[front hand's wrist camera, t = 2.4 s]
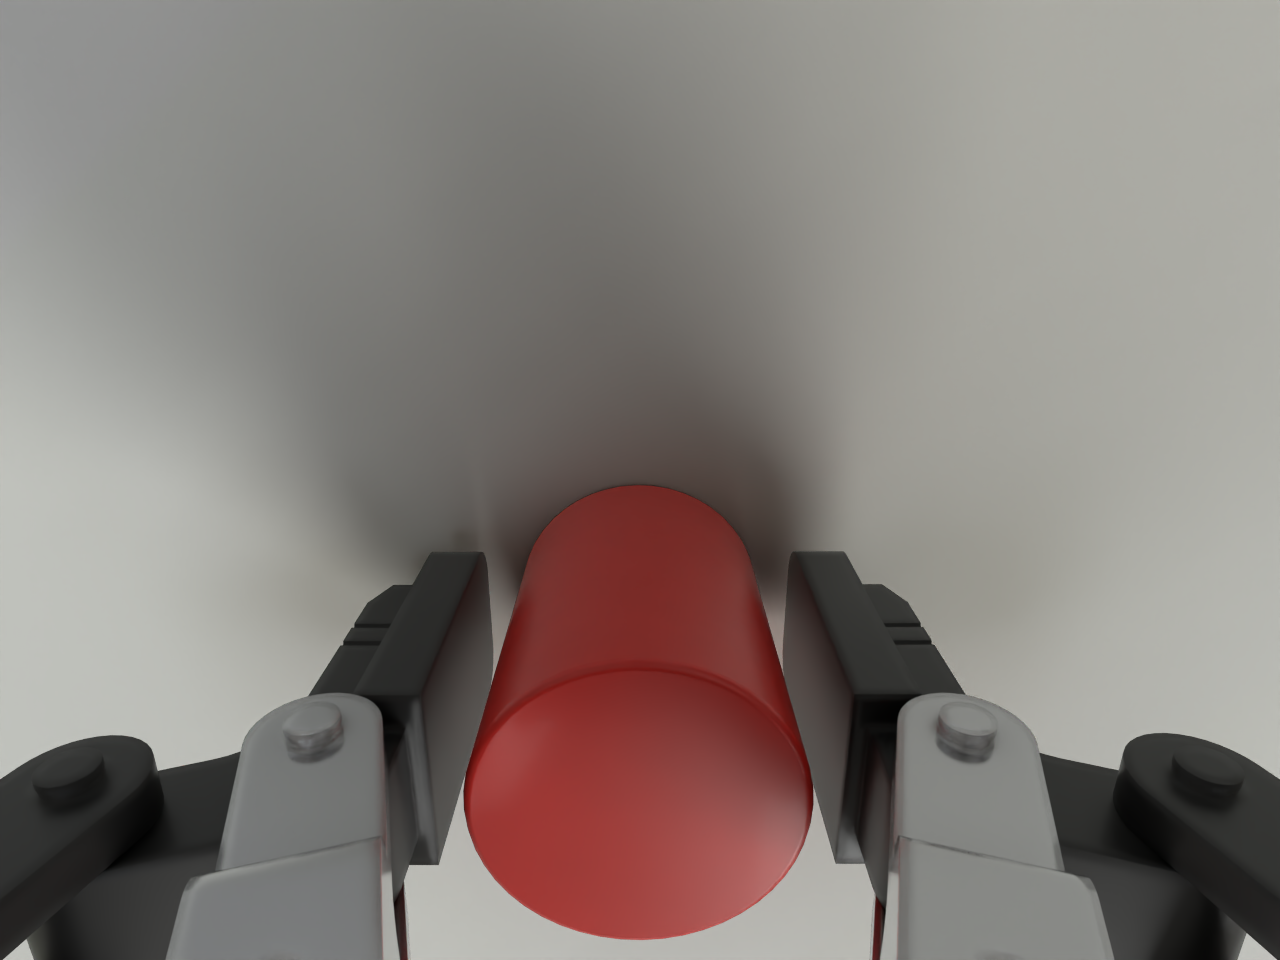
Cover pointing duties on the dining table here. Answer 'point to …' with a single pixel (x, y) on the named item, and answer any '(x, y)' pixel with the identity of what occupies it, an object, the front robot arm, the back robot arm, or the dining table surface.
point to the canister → (638, 727)
